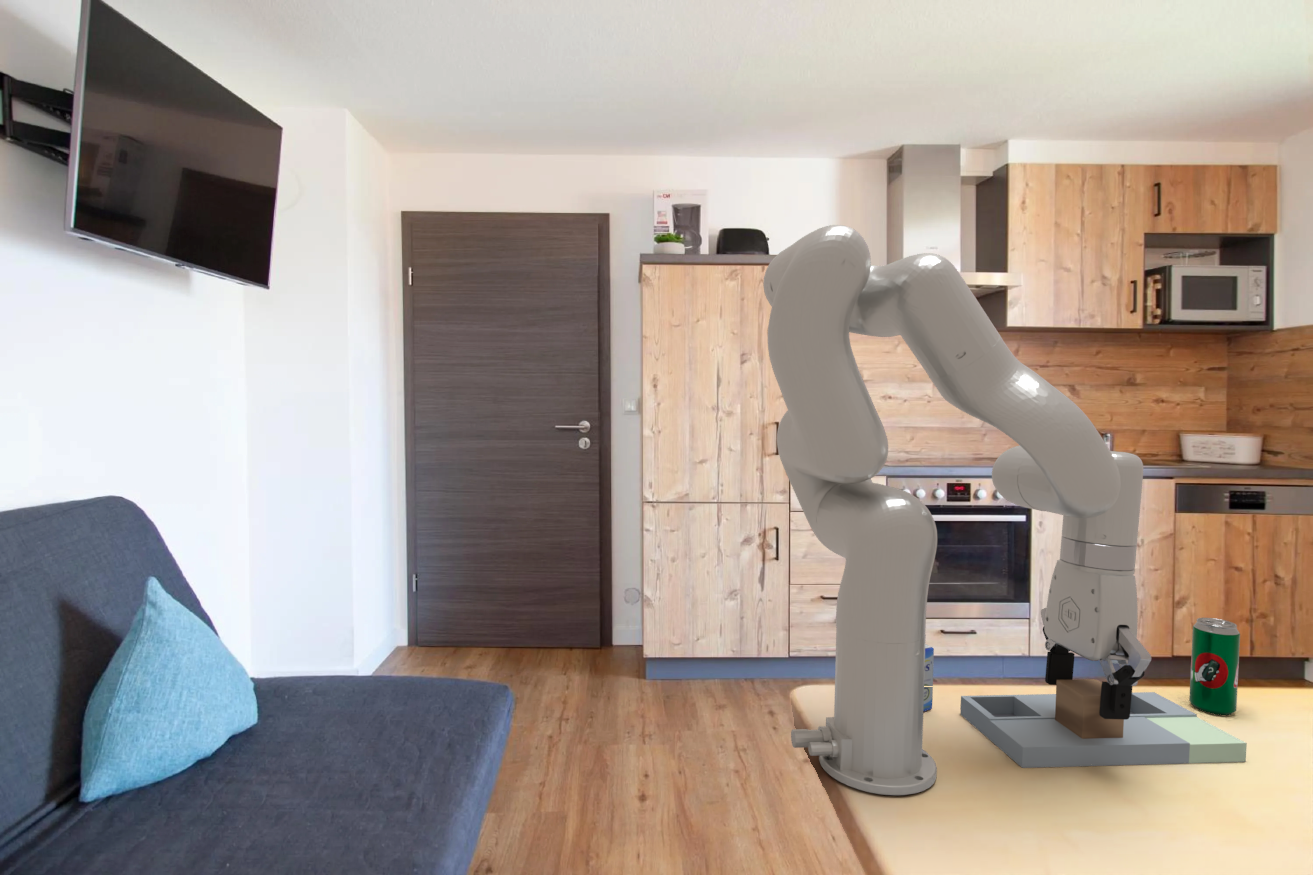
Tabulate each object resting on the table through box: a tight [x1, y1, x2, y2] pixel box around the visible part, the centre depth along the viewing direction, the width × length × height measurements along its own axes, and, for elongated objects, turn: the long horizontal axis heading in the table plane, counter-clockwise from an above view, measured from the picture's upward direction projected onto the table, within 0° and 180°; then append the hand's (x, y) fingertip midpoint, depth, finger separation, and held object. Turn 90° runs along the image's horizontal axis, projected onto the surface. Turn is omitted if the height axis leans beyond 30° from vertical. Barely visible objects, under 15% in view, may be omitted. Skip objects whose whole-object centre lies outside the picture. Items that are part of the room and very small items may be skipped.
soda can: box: [1188, 617, 1241, 716], centre depth 98 cm, size 5×5×12 cm
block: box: [1055, 678, 1124, 739], centre depth 86 cm, size 5×5×5 cm
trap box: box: [960, 691, 1248, 769], centre depth 89 cm, size 27×14×2 cm, turn 94°
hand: (1084, 700), depth 85 cm, fingers open, 9 cm apart
